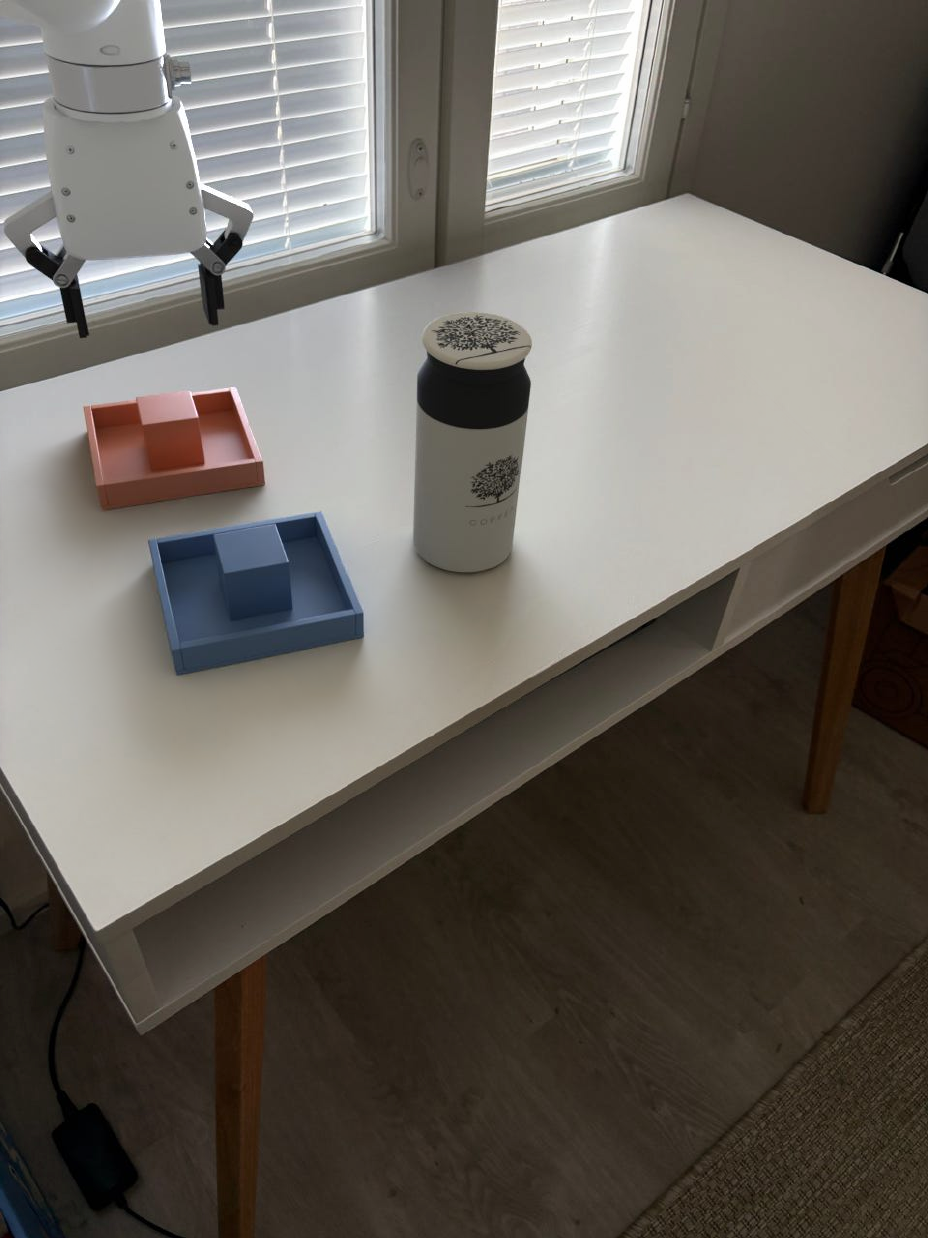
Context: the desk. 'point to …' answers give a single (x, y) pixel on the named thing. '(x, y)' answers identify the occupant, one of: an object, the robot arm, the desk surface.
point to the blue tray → (217, 641)
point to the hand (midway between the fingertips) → (148, 323)
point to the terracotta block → (170, 430)
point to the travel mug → (469, 439)
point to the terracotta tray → (134, 483)
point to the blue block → (253, 572)
